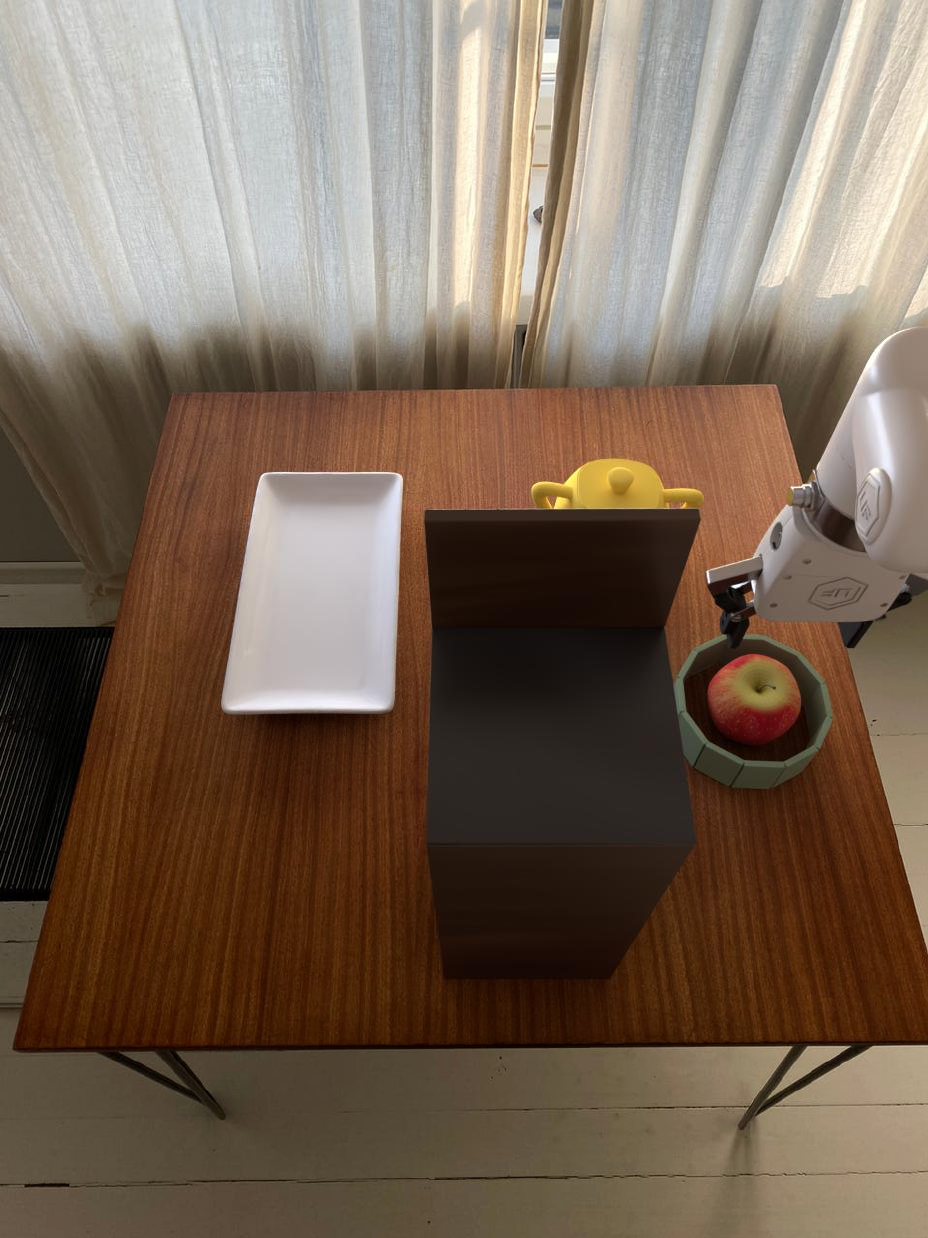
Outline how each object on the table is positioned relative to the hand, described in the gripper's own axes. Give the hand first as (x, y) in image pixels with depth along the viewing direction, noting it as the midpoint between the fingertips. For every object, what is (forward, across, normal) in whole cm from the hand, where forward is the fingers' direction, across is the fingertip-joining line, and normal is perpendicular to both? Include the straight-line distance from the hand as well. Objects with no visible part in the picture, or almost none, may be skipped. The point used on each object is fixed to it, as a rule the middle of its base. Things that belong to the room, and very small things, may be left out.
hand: (787, 633), depth 74 cm
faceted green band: (+16, 0, 0) cm, 16 cm away
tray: (+16, -43, +15) cm, 48 cm away
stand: (+16, -22, -18) cm, 32 cm away
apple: (+16, 0, 0) cm, 16 cm away
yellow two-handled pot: (+16, -11, +20) cm, 28 cm away
